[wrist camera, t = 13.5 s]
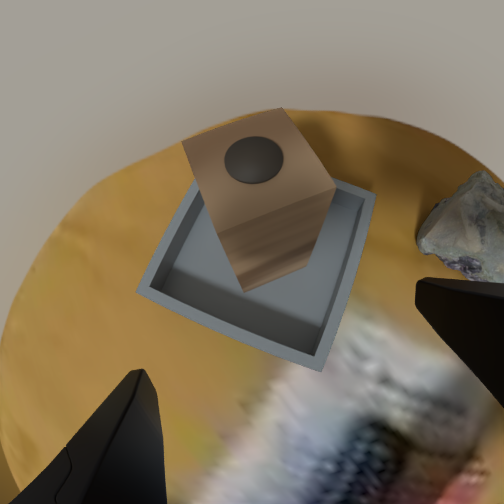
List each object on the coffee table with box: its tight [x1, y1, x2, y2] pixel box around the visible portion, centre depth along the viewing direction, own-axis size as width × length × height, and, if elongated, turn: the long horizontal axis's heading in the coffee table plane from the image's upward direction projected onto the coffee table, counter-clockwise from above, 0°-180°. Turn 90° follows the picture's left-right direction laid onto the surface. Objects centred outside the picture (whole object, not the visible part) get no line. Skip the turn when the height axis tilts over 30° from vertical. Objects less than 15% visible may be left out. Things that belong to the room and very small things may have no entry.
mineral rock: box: [417, 171, 504, 283], centre depth 16 cm, size 13×11×10 cm
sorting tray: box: [136, 177, 376, 372], centre depth 21 cm, size 14×14×3 cm
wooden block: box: [182, 108, 337, 293], centre depth 17 cm, size 5×5×11 cm
